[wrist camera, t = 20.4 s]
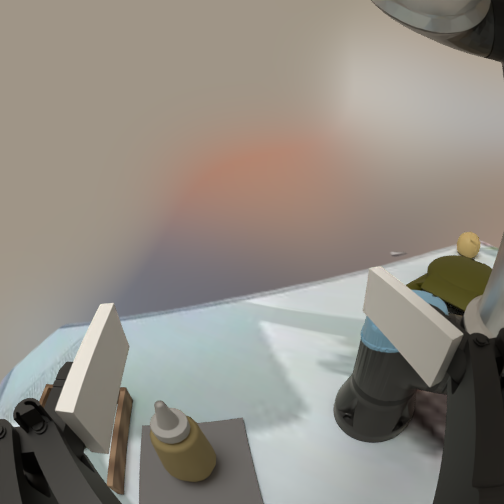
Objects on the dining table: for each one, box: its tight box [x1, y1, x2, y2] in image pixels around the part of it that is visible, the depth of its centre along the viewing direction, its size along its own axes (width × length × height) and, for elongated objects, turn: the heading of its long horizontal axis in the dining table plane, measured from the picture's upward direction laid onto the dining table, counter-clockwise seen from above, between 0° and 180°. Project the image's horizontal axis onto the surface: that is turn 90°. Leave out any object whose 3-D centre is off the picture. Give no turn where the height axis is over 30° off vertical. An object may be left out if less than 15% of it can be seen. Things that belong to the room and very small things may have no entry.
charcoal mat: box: [139, 418, 263, 504], centre depth 32 cm, size 18×18×1 cm
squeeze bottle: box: [149, 401, 216, 482], centre depth 28 cm, size 8×8×18 cm
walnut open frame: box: [39, 384, 133, 495], centre depth 33 cm, size 22×20×4 cm
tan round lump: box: [457, 232, 480, 258], centre depth 93 cm, size 11×12×11 cm
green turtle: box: [406, 255, 492, 312], centre depth 69 cm, size 35×31×10 cm
